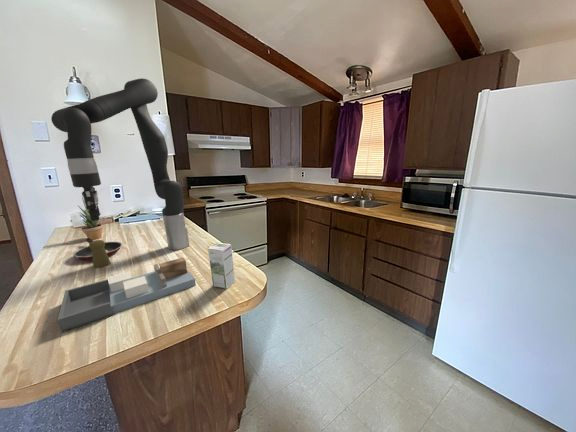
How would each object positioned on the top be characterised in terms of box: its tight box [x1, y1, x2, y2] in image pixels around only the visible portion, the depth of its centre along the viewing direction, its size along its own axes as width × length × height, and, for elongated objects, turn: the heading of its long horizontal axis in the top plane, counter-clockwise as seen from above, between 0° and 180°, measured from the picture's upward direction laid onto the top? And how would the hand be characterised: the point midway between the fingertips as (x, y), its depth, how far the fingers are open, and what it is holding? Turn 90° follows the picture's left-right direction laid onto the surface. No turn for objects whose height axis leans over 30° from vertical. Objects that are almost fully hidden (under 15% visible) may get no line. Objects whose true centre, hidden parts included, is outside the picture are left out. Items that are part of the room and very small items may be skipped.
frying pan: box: [72, 237, 123, 261], centre depth 118 cm, size 19×32×4 cm, turn 50°
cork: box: [88, 239, 112, 269], centre depth 102 cm, size 6×6×11 cm
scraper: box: [153, 257, 188, 288], centre depth 86 cm, size 9×14×5 cm, turn 38°
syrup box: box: [207, 242, 236, 290], centre depth 83 cm, size 6×6×14 cm
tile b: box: [108, 271, 133, 292], centre depth 81 cm, size 6×6×3 cm
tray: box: [57, 278, 114, 334], centre depth 73 cm, size 11×18×4 cm, turn 38°
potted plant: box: [77, 196, 104, 241], centre depth 135 cm, size 10×10×25 cm
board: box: [109, 269, 196, 314], centre depth 83 cm, size 24×16×2 cm, turn 128°
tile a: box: [123, 276, 149, 298], centre depth 77 cm, size 6×6×3 cm
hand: (96, 217), depth 86 cm, fingers open, 8 cm apart
